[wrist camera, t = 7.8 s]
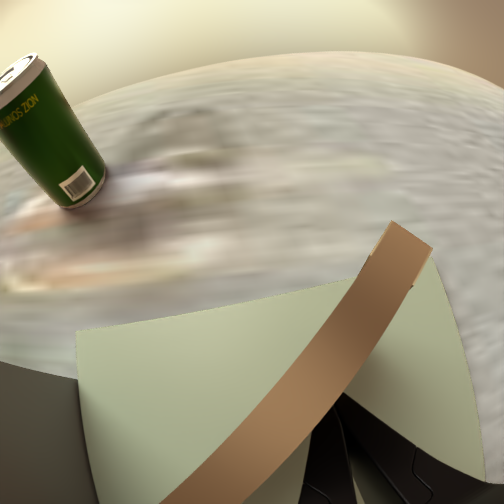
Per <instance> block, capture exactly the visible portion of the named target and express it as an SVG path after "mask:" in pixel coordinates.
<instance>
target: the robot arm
mask: <svg viewBox="0 0 504 504" xmlns="http://www.w3.org/2000/svg"><path fill="white" fill-rule="evenodd" d="M353 478H354V480H355V483H356V485H357V487H358V489H359V492H360V494H361V496H362V498H363V501H364V503H365V504H504V484H493V483H488V482H484V481H481V480H479V479H477V478H474V477H472V476H470V475H468V474H466V473H463V472H461V471H459V470H457V469H455V468H453V467H451V466H449V465H447V464H445V463H443V462H441V461H439V460H437V459H436V458H434V457H433V456H431V455H430V454H428V453H426V452H425V451H424V450H422V449H421V448H419V447H416V445H415V444H414V443H412V442H411V441H409V440H408V439H406V438H405V437H404V436H402V435H401V434H400V433H398V432H397V431H395V430H394V429H393V428H391V427H390V426H388V425H387V424H386V423H384V422H383V421H382V420H380V419H379V418H378V417H376V416H375V415H374V414H372V413H371V412H370V411H368V410H367V409H366V408H364V407H363V406H362V405H360V404H359V403H358V402H356V401H355V400H354V399H352V398H351V397H350V396H349V395H347V394H346V393H345V392H342V394H341V395H340V396H339V398H338V399H337V400H336V402H335V403H334V404H333V405H332V407H331V408H330V409H329V410H328V412H327V413H326V414H325V415H324V417H323V418H322V419H321V420H320V422H319V423H318V424H317V425H316V426H315V427H314V429H313V430H312V432H311V438H310V444H309V450H308V456H307V462H306V467H305V473H304V478H303V484H302V488H301V493H300V497H299V501H298V504H357V498H356V493H355V487H354V482H353Z"/></svg>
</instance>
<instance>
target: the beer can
mask: <svg viewBox="0 0 504 504" xmlns="http://www.w3.org/2000/svg"><path fill="white" fill-rule="evenodd" d="M0 140H1V142H2V143H3V144H4V145H5V147H6V148H7V149H8V150H9V151H10V153H11V154H12V155H13V156H14V157H15V159H16V160H17V161H18V162H19V163H20V164H21V166H22V167H23V168H24V169H25V170H26V171H27V173H28V174H29V175H30V176H31V177H32V178H33V179H34V180H35V182H36V183H37V184H38V185H39V186H40V187H41V188H42V189H43V190H44V192H45V193H46V194H47V195H48V196H49V197H50V198H51V199H52V200H53V201H54V202H55V203H56V204H57V205H59V206H61V207H65V208H72V209H73V208H77V207H80V206H82V205H84V204H86V203H88V202H89V201H90V200H91V199H92V198H93V197H95V195H96V194H97V193H98V192H99V190H100V189H101V187H102V185H103V183H104V181H105V176H106V172H105V163H104V160H103V159H102V157H101V156H100V154H99V153H98V151H97V149H96V148H95V146H94V145H93V143H92V141H91V140H90V138H89V137H88V135H87V133H86V132H85V130H84V129H83V127H82V125H81V124H80V122H79V120H78V119H77V117H76V115H75V114H74V112H73V110H72V109H71V107H70V105H69V104H68V102H67V100H66V99H65V97H64V95H63V94H62V92H61V90H60V88H59V86H58V85H57V83H56V81H55V79H54V78H53V76H52V74H51V72H50V70H49V68H48V67H47V65H46V63H45V62H44V61H42V60H40V59H38V56H37V54H36V53H32V54H29V55H27V56H25V57H23V58H21V59H20V60H18V61H17V62H15V63H14V64H12V65H11V66H10V67H9V68H7V69H6V70H5V71H4V72H3V73H1V74H0Z"/></svg>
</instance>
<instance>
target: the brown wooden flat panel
mask: <svg viewBox="0 0 504 504" xmlns="http://www.w3.org/2000/svg"><path fill="white" fill-rule="evenodd" d="M432 250H433V248H432V247H430V246H429V245H427V244H426V243H424V242H423V241H422V240H420V239H419V238H417V237H416V236H414V235H413V234H411V233H410V232H409V231H407V230H406V229H404V228H403V227H401V226H400V225H398V224H397V223H395V222H394V221H392V220H391V222H390V223H389V225H388V227H387V228H386V230H385V231H384V233H383V235H382V236H381V238H380V239H379V241H378V242H377V244H376V246H375V247H374V249H373V250H372V252H371V253H370V255H369V257H368V258H367V260H366V262H365V264H364V266H363V267H362V269H361V271H360V273H359V274H358V276H357V278H356V279H355V281H354V282H353V284H352V285H351V287H350V288H349V289H348V291H347V292H346V294H345V295H344V297H343V298H342V299H341V301H340V302H339V304H338V305H337V306H336V308H335V309H334V310H333V312H332V313H331V315H330V316H329V317H328V319H327V320H326V321H325V323H324V324H323V325H322V327H321V328H320V329H319V331H318V332H317V333H316V335H315V336H314V337H313V338H312V340H311V341H310V342H309V344H308V345H307V346H306V347H305V349H304V350H303V351H302V353H301V354H300V355H299V356H298V358H297V359H296V360H295V361H294V363H293V364H292V365H291V366H290V367H289V369H288V370H287V371H286V372H285V374H284V375H283V376H282V377H281V378H280V380H279V381H278V382H277V383H276V384H275V385H274V387H273V388H272V389H271V390H270V391H269V392H268V394H267V395H266V396H265V397H264V398H263V399H262V401H261V402H260V403H259V404H258V405H257V406H256V407H255V408H254V410H253V411H252V412H251V413H250V414H249V415H248V416H247V417H246V418H245V420H244V421H243V422H242V423H241V424H240V425H239V426H238V427H237V428H236V429H235V430H234V431H233V432H232V434H231V435H230V436H229V437H228V438H227V439H226V440H225V441H224V442H223V443H222V444H221V445H220V446H219V447H218V448H217V449H216V450H215V451H214V452H213V453H212V454H211V455H210V456H209V457H208V458H207V459H206V460H205V461H204V462H203V463H202V464H201V465H200V466H199V467H198V468H197V469H196V470H195V471H194V472H193V473H192V474H191V475H190V476H189V477H188V478H187V479H185V480H184V481H183V482H182V483H181V484H180V485H179V486H178V487H177V488H176V489H175V490H174V491H172V492H171V493H170V494H169V495H168V496H167V497H166V498H165V499H163V500H162V501H161V502H160V503H159V504H241V503H242V502H243V501H244V500H246V499H247V498H248V497H249V496H250V495H251V494H252V493H253V492H254V491H255V490H256V489H257V488H258V487H259V486H260V485H261V484H263V483H264V482H265V481H266V480H267V479H268V478H269V477H270V476H271V475H272V474H273V473H274V472H275V471H276V469H277V468H278V467H279V466H280V465H281V464H282V463H283V462H284V461H285V460H286V459H287V458H288V457H289V456H290V455H291V454H292V453H293V451H294V450H295V449H296V448H297V447H298V446H299V445H300V444H301V443H302V441H303V440H304V439H305V438H306V437H307V436H308V435H309V433H310V432H311V431H312V430H313V429H314V427H315V426H316V425H317V424H318V423H319V422H320V420H321V419H322V418H323V417H324V415H325V414H326V413H327V412H328V410H329V409H330V408H331V407H332V405H333V404H334V403H335V402H336V400H337V399H338V398H339V396H340V395H341V394H342V392H343V391H344V390H345V388H346V387H347V386H348V384H349V383H350V382H351V380H352V379H353V378H354V376H355V375H356V373H357V372H358V371H359V369H360V368H361V366H362V365H363V363H364V362H365V361H366V359H367V358H368V356H369V355H370V353H371V352H372V350H373V349H374V347H375V346H376V344H377V343H378V341H379V340H380V338H381V336H382V335H383V333H384V332H385V330H386V329H387V327H388V325H389V324H390V322H391V321H392V319H393V317H394V316H395V314H396V312H397V311H398V309H399V307H400V305H401V304H402V302H403V300H404V299H405V297H406V295H407V293H408V291H409V290H410V289H411V288H412V287H413V286H414V285H415V283H416V281H417V279H418V277H419V275H420V274H421V272H422V270H423V268H424V266H425V264H426V262H427V260H428V258H429V256H430V254H431V252H432Z"/></svg>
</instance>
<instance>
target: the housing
mask: <svg viewBox="0 0 504 504" xmlns="http://www.w3.org/2000/svg"><path fill="white" fill-rule="evenodd" d="M356 278H357V277H353V278H349V279H345V280H341V281H337V282H333V283H328V284H324V285H320V286H316V287H311V288H307V289H303V290H298V291H294V292H289V293H285V294H280V295H276V296H271V297H267V298H262V299H257V300H252V301H248V302H243V303H238V304H233V305H228V306H223V307H218V308H213V309H207V310H202V311H197V312H192V313H186V314H181V315H175V316H169V317H164V318H158V319H152V320H146V321H140V322H134V323H128V324H121V325H115V326H108V327H102V328H95V329H88V330H81V331H76V358H77V374H78V380H77V379H72V378H67V377H62V376H57V375H52V374H47V373H43V372H39V371H35V370H30V369H26V368H23V367H19V366H15V365H11V364H8V363H4V362H1V361H0V504H159V503H160V502H161V501H162V500H163V499H165V498H166V497H167V496H168V495H169V494H170V493H171V492H172V491H174V490H175V489H176V488H177V487H178V486H179V485H180V484H181V483H182V482H183V481H184V480H185V479H187V478H188V477H189V476H190V475H191V474H192V473H193V472H194V471H195V470H196V469H197V468H198V467H199V466H200V465H201V464H202V463H203V462H204V461H205V460H206V459H207V458H208V457H209V456H210V455H211V454H212V453H213V452H214V451H215V450H216V449H217V448H218V447H219V446H220V445H221V444H222V443H223V442H224V441H225V440H226V439H227V438H228V437H229V436H230V435H231V434H232V432H233V431H234V430H235V429H236V428H237V427H238V426H239V425H240V424H241V423H242V422H243V421H244V420H245V418H246V417H247V416H248V415H249V414H250V413H251V412H252V411H253V410H254V408H255V407H256V406H257V405H258V404H259V403H260V402H261V401H262V399H263V398H264V397H265V396H266V395H267V394H268V392H269V391H270V390H271V389H272V388H273V387H274V385H275V384H276V383H277V382H278V381H279V380H280V378H281V377H282V376H283V375H284V374H285V372H286V371H287V370H288V369H289V367H290V366H291V365H292V364H293V363H294V361H295V360H296V359H297V358H298V356H299V355H300V354H301V353H302V351H303V350H304V349H305V347H306V346H307V345H308V344H309V342H310V341H311V340H312V338H313V337H314V336H315V335H316V333H317V332H318V331H319V329H320V328H321V327H322V325H323V324H324V323H325V321H326V320H327V319H328V317H329V316H330V315H331V313H332V312H333V310H334V309H335V308H336V306H337V305H338V304H339V302H340V301H341V299H342V298H343V297H344V295H345V294H346V292H347V291H348V289H349V288H350V287H351V285H352V284H353V282H354V281H355V279H356ZM343 392H345V393H346V394H347V395H349V396H350V397H351V398H352V399H354V400H355V401H356V402H358V403H359V404H360V405H362V406H363V407H364V408H366V409H367V410H368V411H370V412H371V413H372V414H374V415H375V416H376V417H378V418H379V419H380V420H382V421H383V422H384V423H386V424H387V425H388V426H390V427H391V428H393V429H394V430H395V431H397V432H398V433H400V434H401V435H402V436H404V437H405V438H406V439H408V440H409V441H411V442H412V443H414V444H415V445H416V447H419V448H421V449H422V450H424V451H425V452H426V453H428V454H430V455H431V456H433V457H434V458H436V459H437V460H439V461H441V462H443V463H445V464H447V465H449V466H451V467H453V468H455V469H457V470H459V471H461V472H463V473H466V474H468V475H470V476H472V477H474V478H477V479H479V480H481V481H484V482H485V468H484V457H483V447H482V439H481V431H480V424H479V418H478V412H477V406H476V401H475V396H474V391H473V386H472V382H471V377H470V373H469V369H468V365H467V361H466V357H465V353H464V349H463V346H462V342H461V338H460V335H459V332H458V328H457V325H456V322H455V319H454V316H453V312H452V309H451V306H450V303H449V301H448V298H447V295H446V292H445V289H444V287H443V284H442V281H441V278H440V276H439V273H438V271H437V268H436V266H435V263H434V261H433V258H432V257H429V258H428V260H427V262H426V264H425V266H424V268H423V270H422V272H421V274H420V275H419V277H418V279H417V281H416V283H415V285H414V286H413V287H412V288H411V289H410V290H409V291H408V293H407V295H406V297H405V299H404V300H403V302H402V304H401V305H400V307H399V309H398V311H397V312H396V314H395V316H394V317H393V319H392V321H391V322H390V324H389V325H388V327H387V329H386V330H385V332H384V333H383V335H382V336H381V338H380V340H379V341H378V343H377V344H376V346H375V347H374V349H373V350H372V352H371V353H370V355H369V356H368V358H367V359H366V361H365V362H364V363H363V365H362V366H361V368H360V369H359V371H358V372H357V373H356V375H355V376H354V378H353V379H352V380H351V382H350V383H349V384H348V386H347V387H346V388H345V390H344V391H343ZM311 432H312V431H311ZM311 432H310V433H309V435H308V436H307V437H306V438H305V439H304V440H303V441H302V443H301V444H300V445H299V446H298V447H297V448H296V449H295V450H294V451H293V453H292V454H291V455H290V456H289V457H288V458H287V459H286V460H285V461H284V462H283V463H282V464H281V465H280V466H279V467H278V468H277V469H276V471H275V472H274V473H273V474H272V475H271V476H270V477H269V478H268V479H267V480H266V481H265V482H264V483H263V484H261V485H260V486H259V487H258V488H257V489H256V490H255V491H254V492H253V493H252V494H251V495H250V496H249V497H248V498H247V499H246V500H244V501H243V502H242V503H241V504H298V501H299V497H300V493H301V488H302V484H303V478H304V473H305V467H306V462H307V456H308V450H309V444H310V438H311ZM353 482H354V487H355V493H356V498H357V504H365V503H364V501H363V498H362V496H361V494H360V492H359V489H358V487H357V485H356V483H355V480H354V478H353Z"/></svg>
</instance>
